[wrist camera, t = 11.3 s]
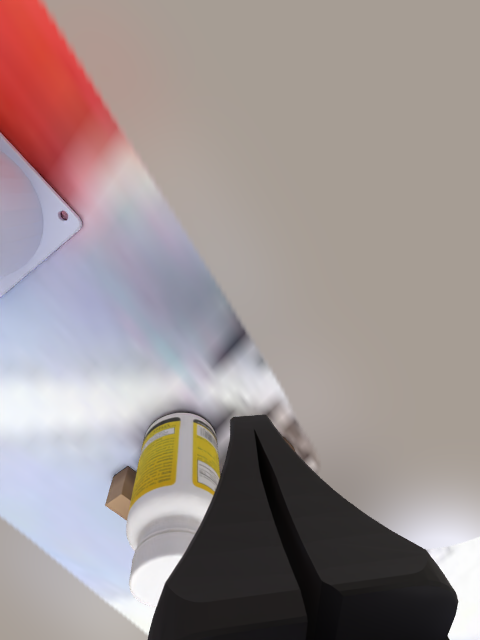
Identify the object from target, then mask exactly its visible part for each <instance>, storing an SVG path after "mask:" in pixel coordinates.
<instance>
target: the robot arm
mask: <svg viewBox="0 0 480 640" xmlns="http://www.w3.org/2000/svg"><path fill="white" fill-rule="evenodd" d="M62 211H65V212H67V214H68V219H67V220H64V219H62V217H61V212H62ZM81 227H82V222H81V219H80V218H79V216H78V215H77V214H76V213H75V212H74V211H73V210H72V209H71V208H70V207H69V206H68V205H67V204H66V202H65V201H64V200H63V199H62V198H61V197H60V196H59V195H58V194H57V193H56V192H55V191H54V189H53V188H52V187H51V186H50V185H49V184H48V183H47V182H46V181H45V180H44V179H43V178H42V177H41V175H40V174H39V173H38V172H37V171H36V170H35V169H34V168H33V167H32V166H31V165H30V164H29V162H28V161H27V160H26V159H25V158H24V157H23V156H22V155H21V154H20V153H19V152H18V151H17V149H16V148H15V147H14V146H13V145H12V144H11V143H10V142H9V141H8V140H7V139H6V138H5V137H4V135H3V134H2V133H1V132H0V298H1V297H2V296H3V295H4V294H5V293H7V292H8V291H9V290H10V289H11V288H12V287H14V286H15V285H16V284H17V283H18V282H19V281H21V280H22V279H23V278H24V277H25V276H26V275H28V274H29V273H30V272H31V271H32V270H33V269H35V268H36V267H37V266H38V265H39V264H40V263H42V262H43V261H44V260H45V259H46V258H48V257H49V256H50V255H51V254H52V253H53V252H55V251H56V250H57V249H58V248H59V247H60V246H62V245H63V244H64V243H65V242H66V241H67V240H69V239H70V238H71V237H72V236H73V235H74V234H76V233H77V232H78V231H79V230H80V229H81ZM457 605H458V599H457V595H456V592H455V591H454V589H453V588H452V586H451V585H450V583H449V581H448V580H447V578H446V577H445V575H444V574H443V572H442V571H441V569H440V568H439V566H438V565H437V564H436V563H435V561H434V560H433V559H432V558H431V556H430V555H429V553H428V552H427V551H426V550H425V549H423V548H422V547H420V546H418V545H416V544H414V543H413V542H411V541H409V540H407V539H405V538H403V537H402V536H400V535H398V534H396V533H395V532H393V531H391V530H389V529H388V528H386V527H385V526H383V525H382V524H380V523H378V522H377V521H375V520H374V519H372V518H371V517H369V516H368V515H366V514H365V513H363V512H362V511H361V510H359V509H358V508H357V507H355V506H354V505H353V504H351V503H350V502H348V501H347V500H346V499H344V498H343V497H342V496H341V495H339V494H338V493H337V492H336V491H334V490H333V489H332V488H331V487H330V486H329V485H328V484H326V483H325V482H324V481H323V480H322V479H321V478H320V477H319V476H318V475H317V474H316V473H315V472H314V471H313V470H312V469H311V468H310V467H309V466H308V465H307V464H306V463H305V462H304V461H303V460H302V459H301V458H300V457H299V456H298V455H297V453H296V452H295V451H294V450H293V449H292V448H291V446H290V445H289V444H288V443H287V442H286V441H285V439H284V438H283V437H282V435H281V434H280V433H279V432H278V430H277V429H276V428H275V426H274V425H273V424H272V422H271V421H270V419H269V418H268V417H267V416H266V415H254V416H241V417H233V418H232V419H231V420H230V442H229V447H228V451H227V456H226V460H225V463H224V467H223V470H222V473H221V476H220V479H219V482H218V485H217V488H216V490H215V493H214V495H213V498H212V500H211V503H210V505H209V507H208V509H207V511H206V514H205V516H204V518H203V520H202V522H201V524H200V526H199V528H198V530H197V531H196V533H195V535H194V537H193V539H192V540H191V542H190V544H189V546H188V548H187V549H186V551H185V553H184V554H183V556H182V558H181V559H180V561H179V562H178V564H177V565H176V567H175V568H174V570H173V571H172V573H171V575H170V576H169V578H168V579H167V581H166V582H165V584H164V587H163V590H162V593H161V596H160V598H159V601H158V604H157V607H156V610H155V613H154V616H153V620H152V623H151V627H150V631H149V636H148V640H449V638H448V633H449V630H450V628H451V625H452V623H453V620H454V617H455V615H456V610H457Z"/></svg>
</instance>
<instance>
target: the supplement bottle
mask: <svg viewBox="0 0 480 640" xmlns="http://www.w3.org/2000/svg"><path fill="white" fill-rule="evenodd" d="M219 479H220V471H219V458H218V446H217V438H216V434H215V431H214V429H213V428H212V426H211V425H210V424H209V423H208V422H207V421H206V420H205V419H203V418H201V417H199V416H197V415H194V414H190V413H174V414H170V415H166V416H164V417H162V418H160V419H158V420H157V421H155V422H154V423H153V424H152V425H151V426H150V428H149V429H148V431H147V432H146V435H145V437H144V441H143V445H142V450H141V454H140V459H139V463H138V468H137V473H136V478H135V483H134V488H133V492H132V497H131V502H130V508H129V512H128V517H127V525H126V532H127V539H128V541H129V543H130V545H131V547H132V548H133V550H134V551H135V554H134V556H133V559H132V567H131V574H130V581H129V586H130V590H131V593H132V594H133V596H134V597H135V598H136V599H137V600H138V601H140V602H142V603H143V604H146V605H149V606H152V607H157V604H158V601H159V598H160V596H161V593H162V590H163V587H164V584H165V582H166V581H167V579H168V578H169V576H170V575H171V573H172V571H173V570H174V568H175V567H176V565H177V564H178V562H179V561H180V559H181V558H182V556H183V554H184V553H185V551H186V549H187V548H188V546H189V544H190V542H191V540H192V539H193V537H194V535H195V533H196V531H197V530H198V528H199V526H200V524H201V522H202V520H203V518H204V516H205V514H206V511H207V509H208V507H209V505H210V503H211V500H212V498H213V495H214V493H215V490H216V488H217V485H218V482H219Z"/></svg>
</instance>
